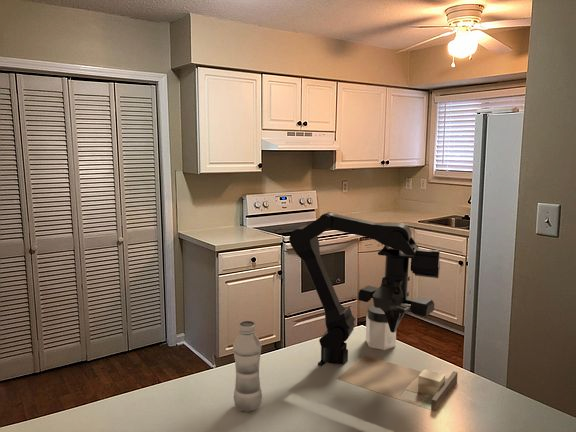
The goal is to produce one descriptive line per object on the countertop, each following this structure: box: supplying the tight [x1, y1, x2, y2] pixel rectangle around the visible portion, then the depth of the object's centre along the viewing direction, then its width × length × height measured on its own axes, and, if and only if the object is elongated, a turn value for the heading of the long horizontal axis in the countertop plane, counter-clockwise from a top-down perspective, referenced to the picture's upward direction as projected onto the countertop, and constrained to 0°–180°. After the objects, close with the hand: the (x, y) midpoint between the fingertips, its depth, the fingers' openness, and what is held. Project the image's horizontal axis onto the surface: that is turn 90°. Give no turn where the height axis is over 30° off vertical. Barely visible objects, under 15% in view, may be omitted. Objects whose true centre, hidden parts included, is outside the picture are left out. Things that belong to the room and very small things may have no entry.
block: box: [417, 368, 446, 396], centre depth 112 cm, size 5×4×4 cm
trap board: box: [336, 355, 459, 412], centre depth 117 cm, size 25×16×4 cm, turn 54°
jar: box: [365, 304, 397, 351], centre depth 138 cm, size 9×8×12 cm
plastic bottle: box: [232, 320, 263, 413], centre depth 106 cm, size 6×7×20 cm
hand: (393, 332), depth 121 cm, fingers closed
